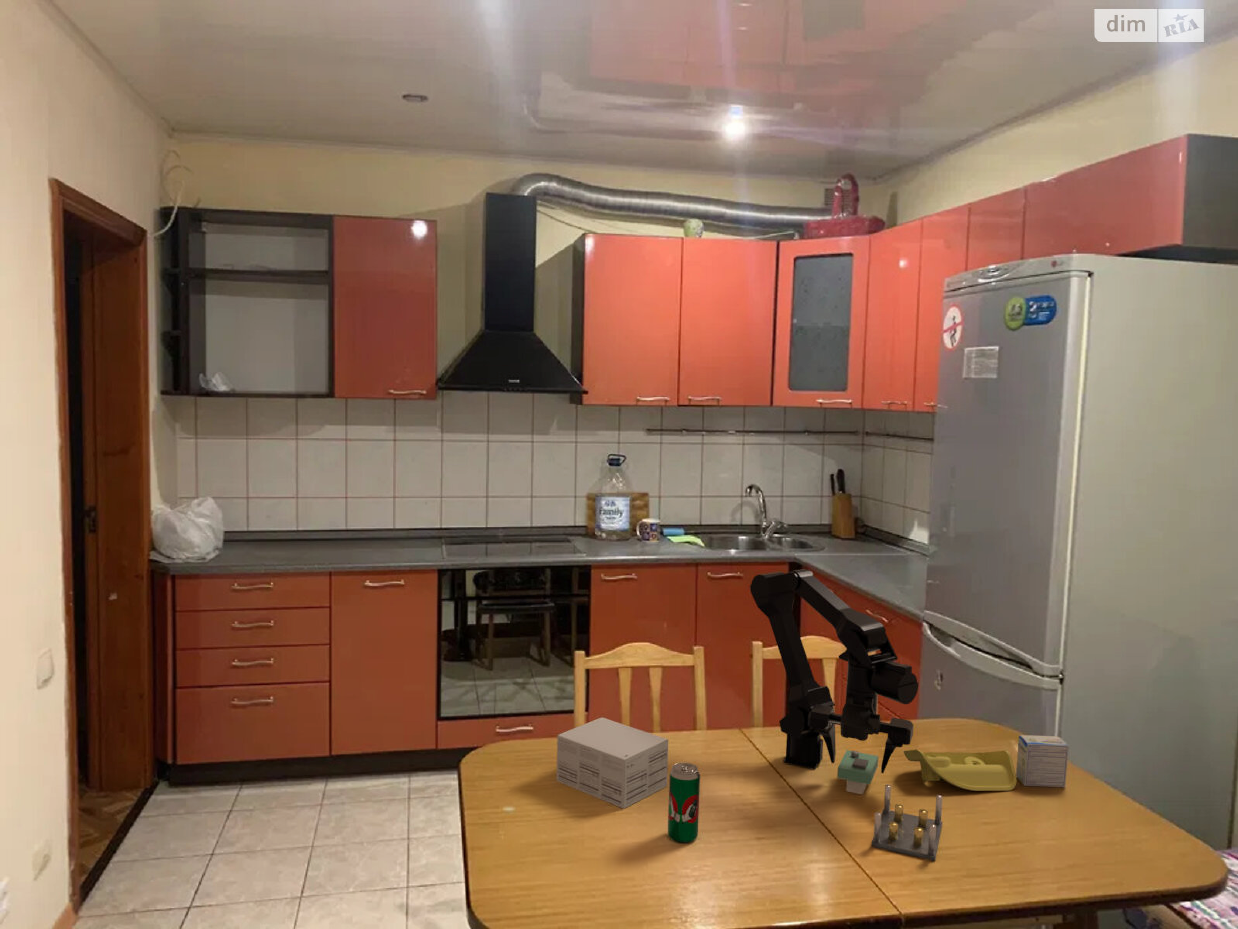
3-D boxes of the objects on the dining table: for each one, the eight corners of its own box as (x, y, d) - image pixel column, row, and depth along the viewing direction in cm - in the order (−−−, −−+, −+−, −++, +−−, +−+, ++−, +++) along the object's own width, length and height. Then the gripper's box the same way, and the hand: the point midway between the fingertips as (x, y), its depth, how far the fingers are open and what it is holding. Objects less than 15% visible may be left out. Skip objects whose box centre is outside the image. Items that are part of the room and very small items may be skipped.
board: (837, 778, 169) (838, 763, 169) (846, 760, 177) (846, 746, 177) (870, 784, 166) (871, 770, 166) (877, 766, 175) (878, 752, 174)
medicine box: (1055, 778, 178) (1058, 735, 178) (1066, 788, 174) (1069, 745, 173) (1015, 776, 179) (1018, 734, 178) (1024, 787, 174) (1027, 743, 173)
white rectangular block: (846, 791, 170) (847, 775, 170) (851, 780, 175) (852, 765, 175) (862, 794, 169) (863, 779, 169) (867, 783, 174) (868, 768, 174)
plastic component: (982, 753, 184) (1013, 750, 175) (987, 791, 182) (1019, 790, 173) (894, 752, 180) (921, 749, 171) (898, 791, 177) (926, 790, 168)
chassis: (871, 846, 150) (873, 814, 149) (882, 813, 162) (884, 783, 161) (935, 861, 146) (937, 828, 145) (942, 825, 158) (944, 795, 157)
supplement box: (668, 786, 170) (670, 738, 170) (623, 811, 160) (625, 759, 159) (601, 760, 181) (602, 715, 180) (555, 781, 171) (556, 733, 170)
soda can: (701, 833, 153) (703, 764, 152) (693, 847, 148) (696, 776, 147) (672, 827, 155) (674, 759, 153) (663, 841, 150) (666, 771, 149)
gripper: (803, 692, 167) (798, 774, 168) (908, 710, 159) (903, 795, 161) (816, 675, 177) (811, 752, 178) (915, 691, 169) (910, 771, 171)
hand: (857, 767), depth 172 cm, fingers open, 9 cm apart
